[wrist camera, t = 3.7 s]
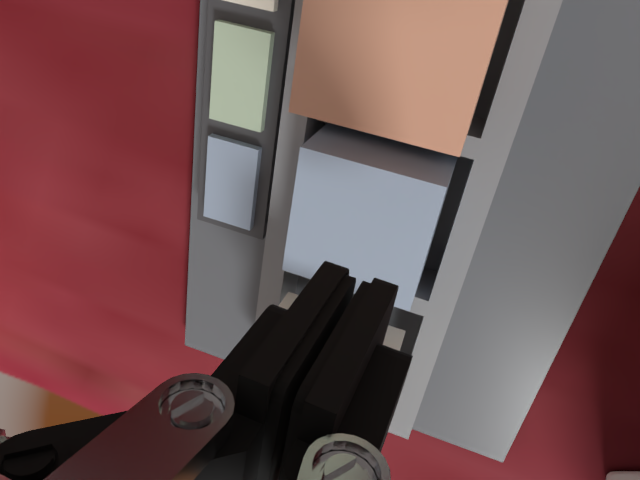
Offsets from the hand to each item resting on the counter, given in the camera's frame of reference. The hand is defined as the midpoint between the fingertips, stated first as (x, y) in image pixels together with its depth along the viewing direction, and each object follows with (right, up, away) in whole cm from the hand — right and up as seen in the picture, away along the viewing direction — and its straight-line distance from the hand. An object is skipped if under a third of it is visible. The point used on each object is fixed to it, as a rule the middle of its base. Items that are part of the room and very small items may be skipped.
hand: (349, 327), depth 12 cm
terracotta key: (+2, +7, +1) cm, 7 cm away
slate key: (+1, +3, +5) cm, 6 cm away
